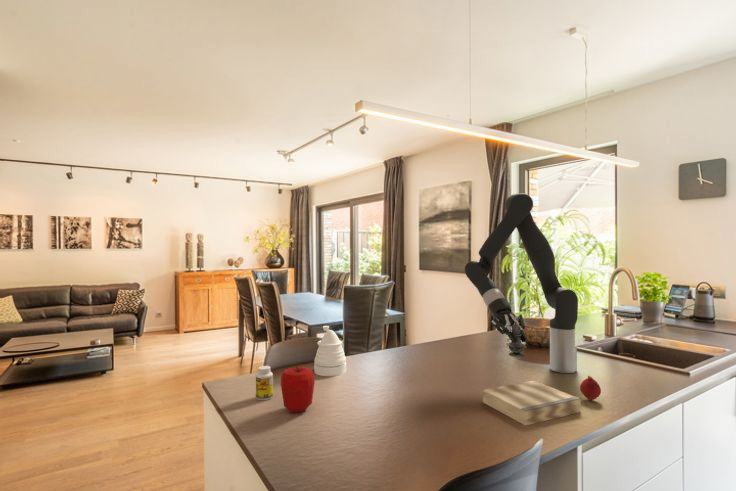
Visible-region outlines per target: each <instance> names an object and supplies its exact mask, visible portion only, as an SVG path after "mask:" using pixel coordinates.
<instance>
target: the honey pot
mask: <svg viewBox="0 0 736 491" xmlns="http://www.w3.org/2000/svg"><path fill="white" fill-rule="evenodd" d="M322 330H323V331H324V332H325V333H324V334H323V336H322V338H321V339H320V340H318V341H317V346H318V349H316V354H315V357H314V362H313V363H314V372H313V373H314V374H316V375H317V376H323V377H336V376H341V375H344V374H345V373H346V372H347V357H346V355H345V351H344V349H343V346H342V343H343V342H342V340H341V339H340V338H339V337H338V334H336V332H335V330H333V329H330V325H323V326H322Z"/></svg>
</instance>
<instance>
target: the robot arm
mask: <svg viewBox="0 0 736 491" xmlns="http://www.w3.org/2000/svg"><path fill="white" fill-rule="evenodd" d="M533 207H534V201H533V198H532V197H531V196H530V195H529V194H527V193H523V192H521V193H513V194H511V195H509V197H507V198H506V201H505V210H506V212H505V214H504V216H503V218H502V219H501V221H500V222H499V223H498V225H497V226H496V227H495V228H494V229H493V231H491V233H490V234H489V236H488V237H486V238H485V241H484V242H483V244H482V245H481V247H480V249H479V251H478V255H479V257H480V258H479V261H476V260H470V261H468V262H467V263H466V264H465V266H464V274H465V275H466V277H467V278H468V280H469V281H470V282H471V284H473V286H474V287H475V288H476V290H477V291H478V293H479V295H480V296H481V298H482V299H483V302H484V304H485V306H486V308H487V309H488V311H489V312H490V313H491V316H492V317H493V319H492V320H491V322H490V323H491V325H492V326H493V327H494V328H495V329H496V330H497V331H498V332H499V333H500V334H501V335H506V336H507V337H508V338H509V340H510V343H511V342H513V344H515V343H517V342H518V339H517V338H516V336H515V334H514V333H513V332H512V325H514V324H515V322H517V324H518V325H520V334H521V343H525V342H527V340H528V337H527V335H526V334H525V333H524V330H526V324H525V321H524V317H523V316H522V315H521V314H519V315H516V314H515V313H514V312H513V311H512V307H511V305H510V304H509V301H508V300H507V299H506V297H505V296H504V294H503V293H502V292H501V290H500V289H499V288H498V286H497V285H496V282H494V281H493V279H492V278H490V277H489V274H490V273H491V271H492V267H493V265H494V261H495V259H496V258H497V257H498V256H499V254H500V252H501V250H502V248H503V247H504V245H505V244H506V243H507V241H508V240H509V238H510V237H511V235H512V234H513V232H514V231H515V230H517V232H518V234H519V237H520V240H521V242H522V245H523V248H524V250H525V252H526V255H527V257H528V260H529V261H530V263H531V265H532V267H533V269H534V272H535V274H536V276H537V278H538V280H539V283H540V285H541V289H542V293H543V295H544V298H545V301H546V303H547V304H548V306H549V307H551V309H554V310H555V312H554V317H553V318H551V319H550V320H549V369H550V370H551V371H553V372H557V373H560V374H574V373H576V371H577V370H578V356H577V355H578V348H577V346H576V324H577V322H578V316H579V315H578V311H579V299H578V296H577V293H576V292H575V291H574V290H573V289H571V288H570V289H569V288H566V287H563V286H562V285H561V283H560V281H559V279H558V277H557V276H558V275H557V273H556V258H555V254H554V251H553V249H552V246H551V245H550V243H549V240H548V239H547V237H546V236H545V234H544V233H543V232H542V230H541V229H540V228H539V226H537V223H536V222H535V220H534V218H533V216H532V212H531V211H532V210H533Z"/></svg>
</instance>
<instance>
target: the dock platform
mask: <svg viewBox="0 0 736 491" xmlns="http://www.w3.org/2000/svg"><path fill="white" fill-rule="evenodd" d="M482 403H483V404H485V405H487V406H489V407H490V408H493V409H494V410H496V411H498V412H499V413H502V414H503V415H505V416H507V417H509V418H511V419H513V420H514V421H516V422H518V423H521V424H522V425H523V426H529V425H530V426H531V425H534V424H538V423H542V422H545V421H549V420H554V419H558V418H561V417H566V416H570V415H574V414H579V413H581V398H580V397H578V396H575V395H573V394H569V393H567V392H565V391H561V390H559V389H557V388H554V387H551V386H549V385H547V384H544V383H542V382H540V381H539V382H538V381H536V380H535V379H534V380H528V381H523V382H518V383H514V384H507V385H503V386H497V387H491V388H486V389H482Z"/></svg>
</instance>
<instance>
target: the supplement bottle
mask: <svg viewBox="0 0 736 491" xmlns="http://www.w3.org/2000/svg"><path fill="white" fill-rule="evenodd" d="M257 371H258V372H256V374H255V399H256V400H259V401H269V400H271V399H272V398H273V396H274V389H273V388H274V374H273V372H272V371H271V366H269V365H261V366H259V367H258V368H257Z"/></svg>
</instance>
